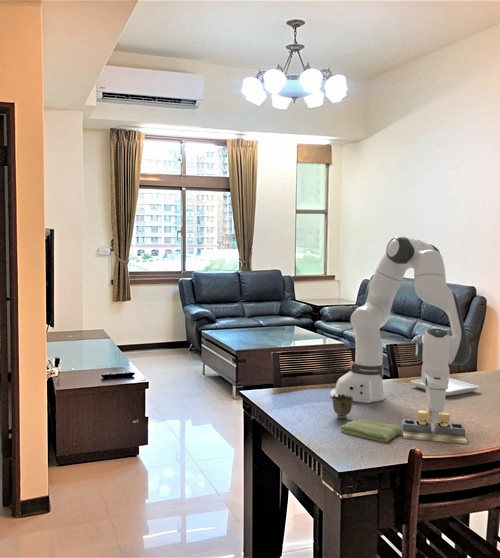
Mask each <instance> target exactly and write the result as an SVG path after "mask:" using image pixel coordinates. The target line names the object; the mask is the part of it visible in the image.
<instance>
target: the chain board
mask: <svg viewBox="0 0 500 558" xmlns="http://www.w3.org/2000/svg"><path fill="white" fill-rule="evenodd" d="M400 425H401V427H400V428H401V434H402V438H403V439H411V440H421V441H433V442H441V443H442V442H444V443H456V444H465V445H467V444H468V440H467V438H466V436H465V437H462V436H451V435H439V434H436V432H435V429H434V425H435V424H434V425H432V424H431V434H428V433H417V432H405V431H403V429H402V422H401V424H400Z"/></svg>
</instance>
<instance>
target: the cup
mask: <svg viewBox="0 0 500 558" xmlns="http://www.w3.org/2000/svg"><path fill="white" fill-rule="evenodd" d="M331 398H332V409H333V411H334V413H335V414H336V417H337V418H338V419H340V420H346V419H347V418H348V415H350V413H351V411H352V407H353V402H354V401H353V398H352V396H349V397H348V395H347V396H345V395H344V394H342V395H340V394H338V397H337V396H335V395H334V396H332V397H331Z"/></svg>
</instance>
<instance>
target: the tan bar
mask: <svg viewBox="0 0 500 558" xmlns="http://www.w3.org/2000/svg"><path fill="white" fill-rule="evenodd" d="M417 418H418V420H419V425H427V421H430V422H432V411H429V410H418V411H417ZM438 422H440V427H448V423H451V414H450V413H449V412H442V413H439V416H438Z"/></svg>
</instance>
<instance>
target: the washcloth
mask: <svg viewBox="0 0 500 558" xmlns="http://www.w3.org/2000/svg"><path fill="white" fill-rule="evenodd" d="M339 429H340V430H342V433H343V434H345V435H349V436H355V437H359V438H363V439H368V440H371V441H376V440H377V442H381V441H382V442H381V443H388V442H389V441H391V440H393V438H394V437H397V436H399V435H400V434H402V428H401V427H400V426H399V425H396V424H390V423H389V424H388V423H384V422H379V421H375V420H373V421H372V420H370V419H369V420H368V419H364V418H363V419H362V418H358V419H354V420H351V421H348V422H346V424H342V425H340V428H339Z"/></svg>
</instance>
